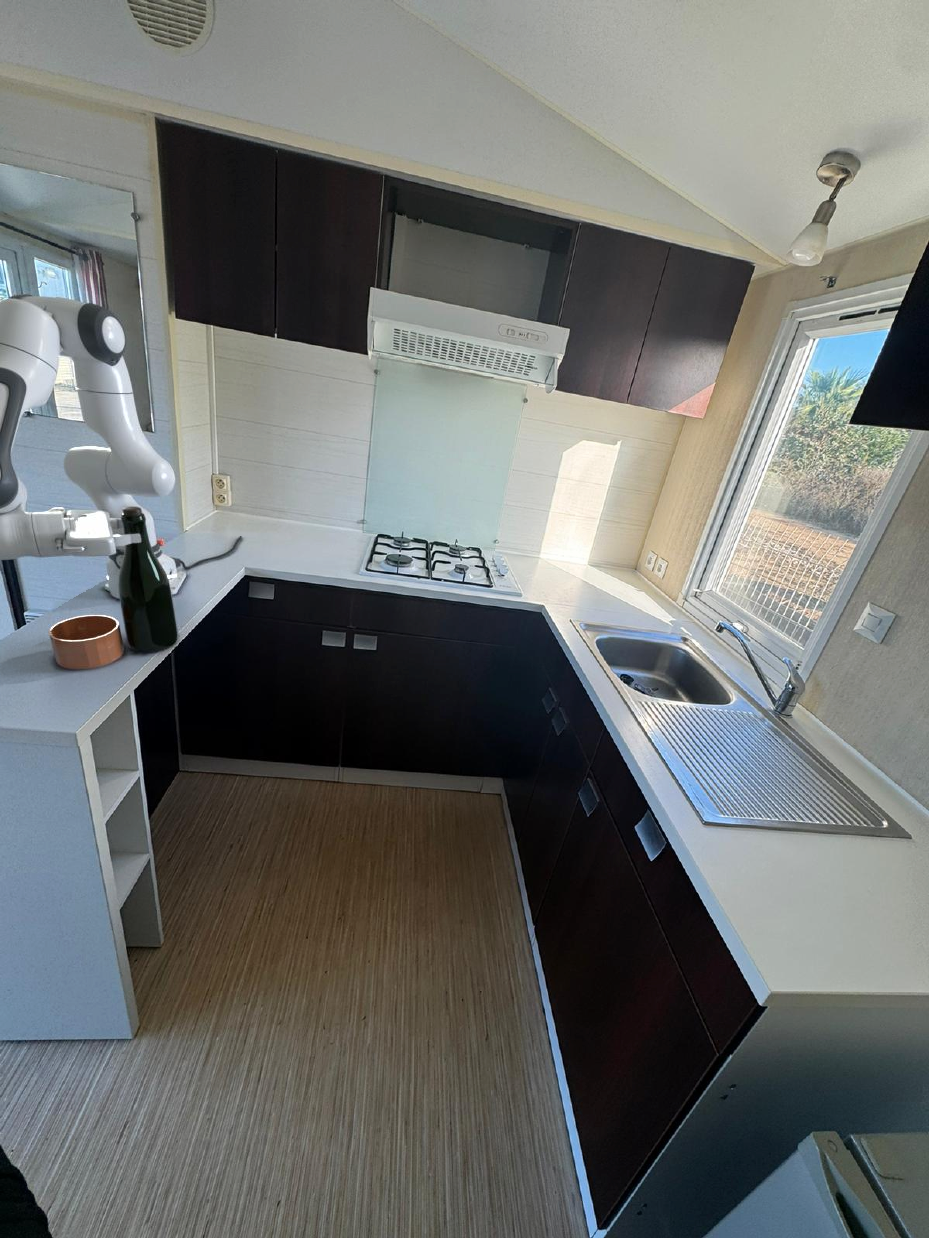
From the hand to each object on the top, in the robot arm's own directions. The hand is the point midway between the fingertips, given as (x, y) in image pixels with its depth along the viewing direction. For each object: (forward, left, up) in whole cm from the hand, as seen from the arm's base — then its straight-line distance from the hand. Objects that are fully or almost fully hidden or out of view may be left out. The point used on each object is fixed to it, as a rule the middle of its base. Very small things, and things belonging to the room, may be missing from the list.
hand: (138, 530), depth 105 cm
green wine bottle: (0, 0, -28) cm, 28 cm away
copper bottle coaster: (+7, -10, -28) cm, 31 cm away
